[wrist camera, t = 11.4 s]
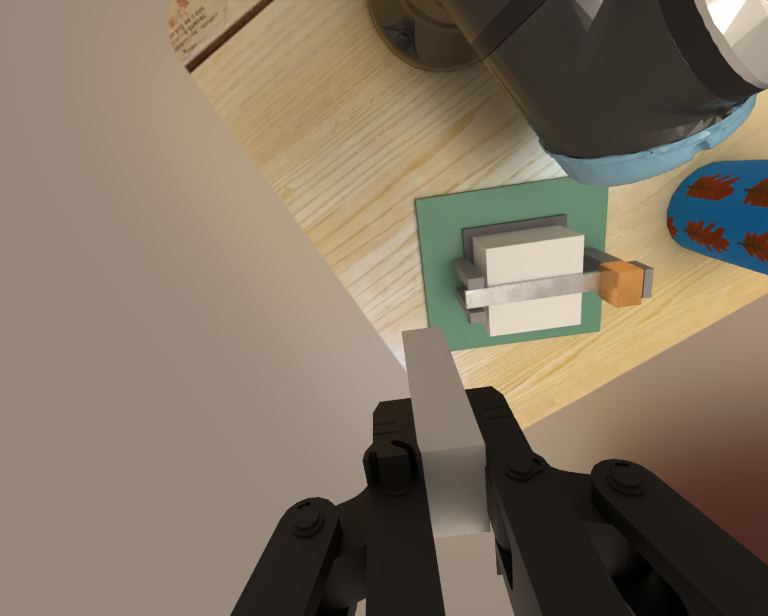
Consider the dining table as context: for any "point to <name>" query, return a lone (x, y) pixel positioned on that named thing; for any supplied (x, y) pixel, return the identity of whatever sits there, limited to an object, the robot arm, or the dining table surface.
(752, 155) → the dining table surface
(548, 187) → the lever on green base
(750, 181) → the thermos
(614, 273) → the grey and orange bar
